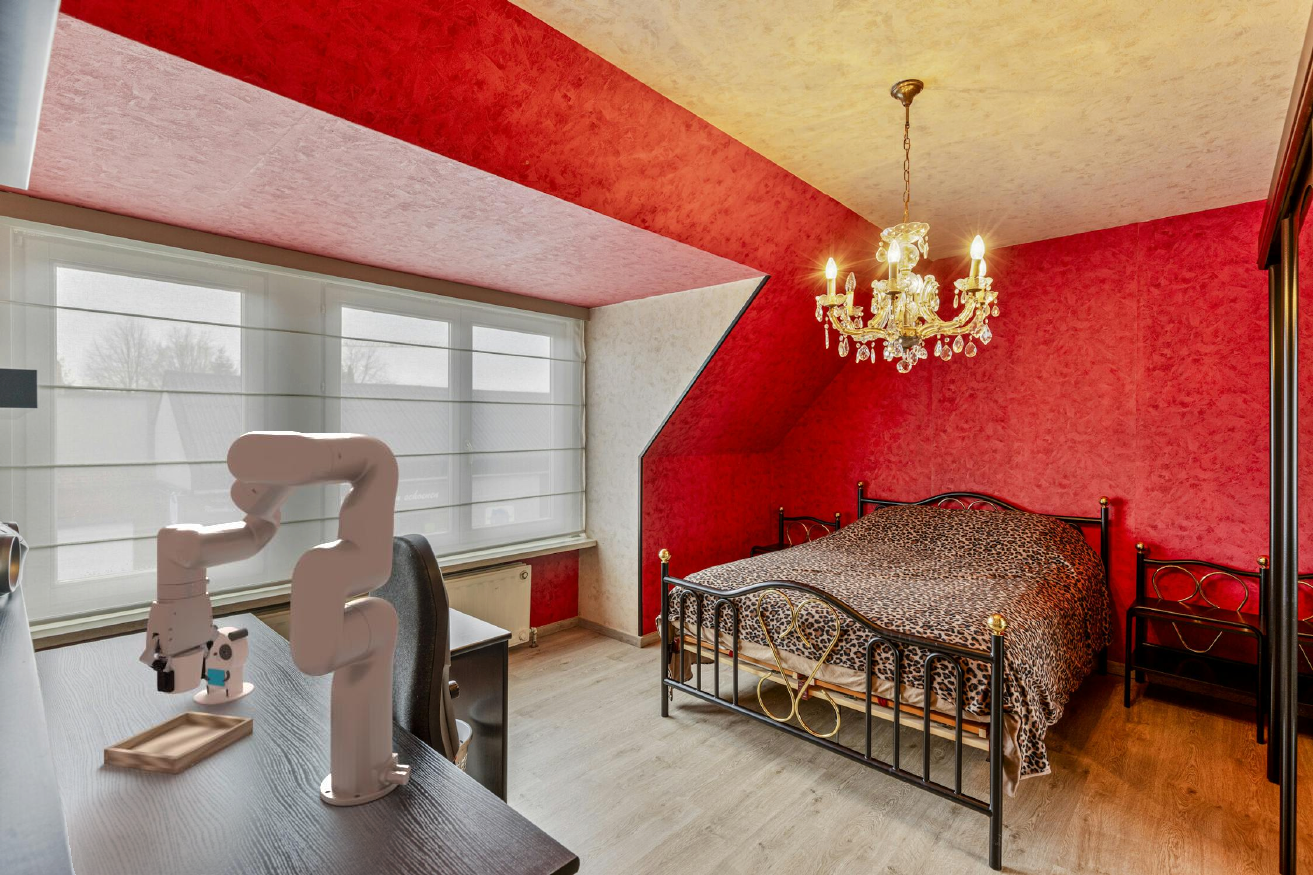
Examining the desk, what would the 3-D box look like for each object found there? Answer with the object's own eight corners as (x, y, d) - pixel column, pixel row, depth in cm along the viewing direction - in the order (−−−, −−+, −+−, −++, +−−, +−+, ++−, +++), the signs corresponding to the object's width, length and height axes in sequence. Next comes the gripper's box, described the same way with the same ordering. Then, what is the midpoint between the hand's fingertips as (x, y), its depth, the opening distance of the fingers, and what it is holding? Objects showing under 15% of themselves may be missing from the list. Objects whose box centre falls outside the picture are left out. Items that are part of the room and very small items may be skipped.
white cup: (179, 696, 115) (179, 659, 115) (149, 693, 116) (149, 655, 116) (213, 682, 122) (213, 646, 122) (183, 679, 123) (183, 643, 123)
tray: (252, 731, 125) (252, 718, 125) (176, 773, 110) (176, 759, 110) (187, 723, 129) (187, 710, 129) (103, 763, 113) (103, 749, 113)
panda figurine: (179, 699, 140) (179, 633, 140) (227, 680, 151) (227, 618, 151) (219, 707, 136) (219, 638, 136) (265, 686, 147) (265, 623, 147)
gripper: (207, 578, 128) (206, 666, 128) (119, 600, 111) (118, 701, 112) (237, 580, 127) (237, 669, 127) (153, 603, 110) (152, 705, 110)
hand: (181, 683), depth 119 cm, fingers closed on white cup, 5 cm apart
